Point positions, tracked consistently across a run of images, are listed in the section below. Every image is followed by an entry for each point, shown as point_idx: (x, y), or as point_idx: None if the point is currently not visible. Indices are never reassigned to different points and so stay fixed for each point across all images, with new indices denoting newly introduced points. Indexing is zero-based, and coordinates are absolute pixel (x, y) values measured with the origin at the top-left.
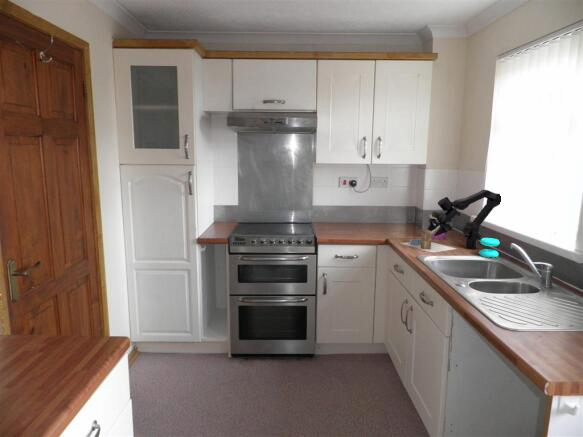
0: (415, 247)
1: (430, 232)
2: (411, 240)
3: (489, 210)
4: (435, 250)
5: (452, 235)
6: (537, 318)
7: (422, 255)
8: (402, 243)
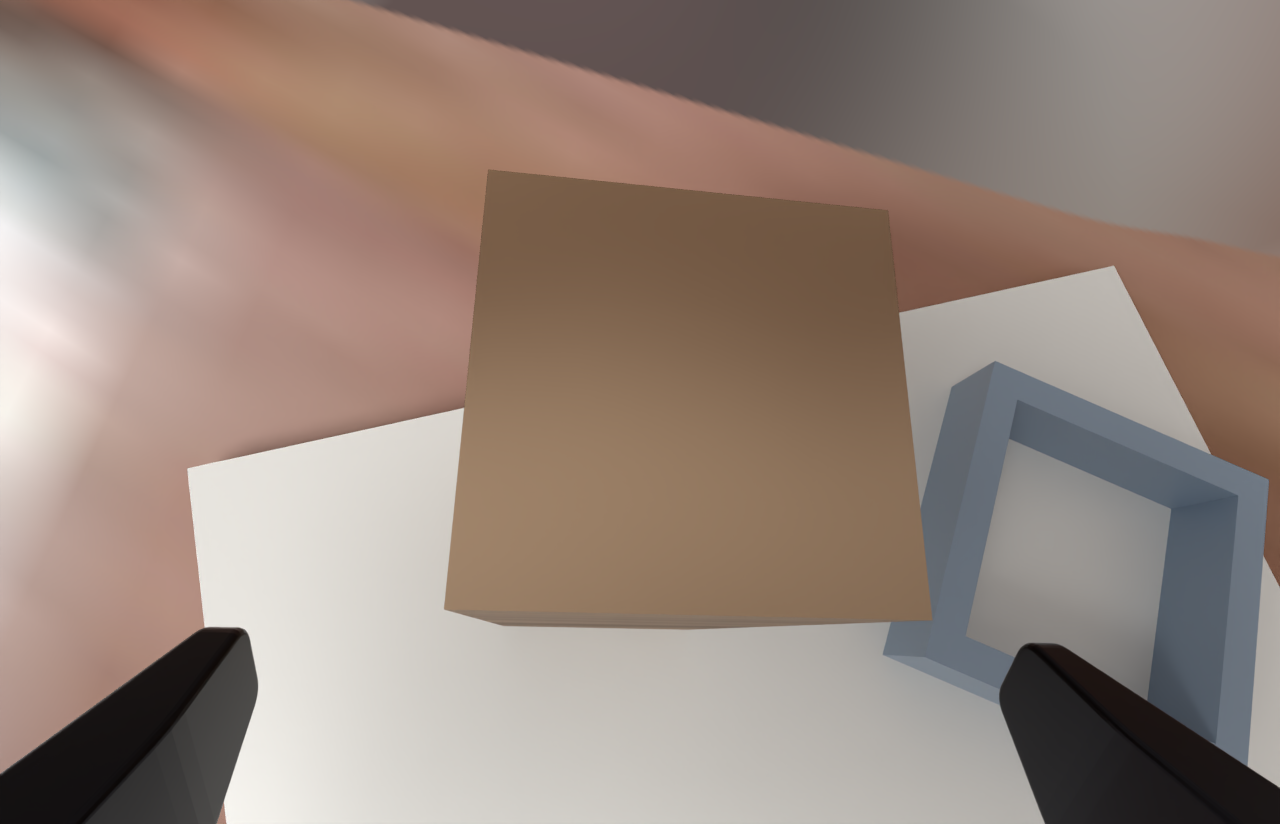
0: None
1: (464, 518)
2: (1164, 458)
3: None
4: (344, 677)
5: None
6: None
7: (189, 224)
8: (1099, 299)
